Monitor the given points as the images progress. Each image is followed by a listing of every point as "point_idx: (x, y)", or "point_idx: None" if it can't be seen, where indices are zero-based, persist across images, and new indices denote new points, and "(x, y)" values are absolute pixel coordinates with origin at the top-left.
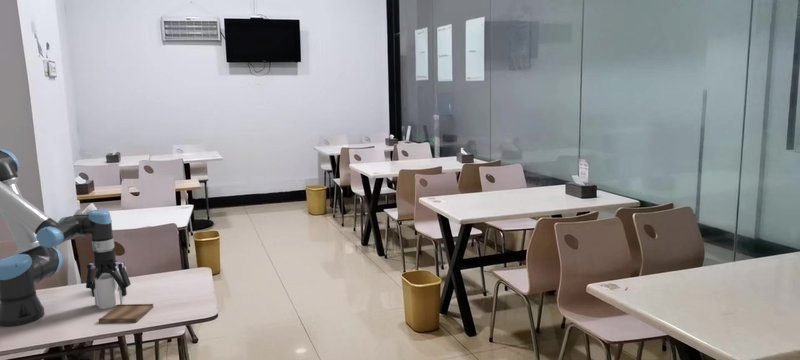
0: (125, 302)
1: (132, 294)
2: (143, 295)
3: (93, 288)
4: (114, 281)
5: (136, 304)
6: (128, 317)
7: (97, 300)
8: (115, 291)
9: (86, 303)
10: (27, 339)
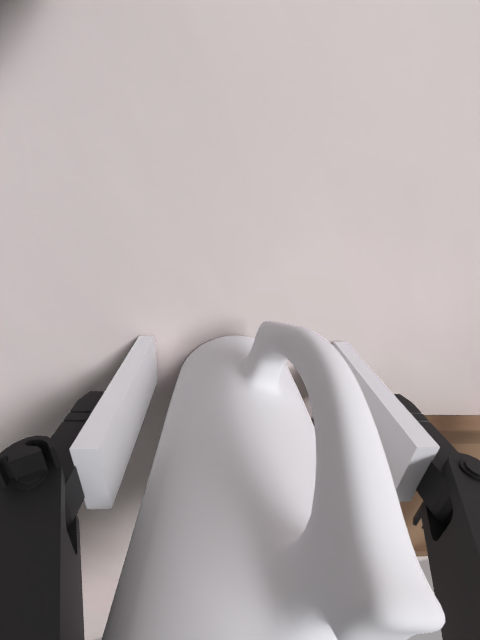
0: (346, 345)
1: (357, 121)
2: (468, 175)
3: (75, 529)
4: (317, 429)
5: (448, 437)
6: (416, 540)
7: (148, 398)
8: (286, 358)
9: (23, 321)
10: (87, 617)
